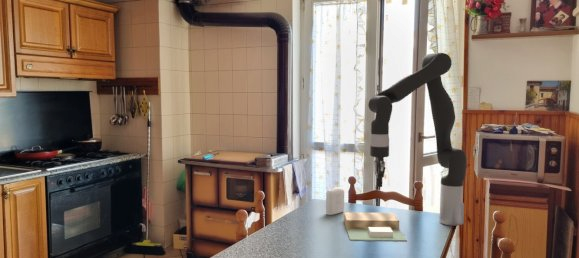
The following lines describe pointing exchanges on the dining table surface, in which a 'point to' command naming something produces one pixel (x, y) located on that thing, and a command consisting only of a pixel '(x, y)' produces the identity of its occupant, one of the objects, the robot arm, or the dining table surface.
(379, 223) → the board
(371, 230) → the cream tile
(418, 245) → the dining table surface
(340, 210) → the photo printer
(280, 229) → the dining table surface
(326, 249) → the dining table surface
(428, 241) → the dining table surface
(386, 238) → the sage mat
